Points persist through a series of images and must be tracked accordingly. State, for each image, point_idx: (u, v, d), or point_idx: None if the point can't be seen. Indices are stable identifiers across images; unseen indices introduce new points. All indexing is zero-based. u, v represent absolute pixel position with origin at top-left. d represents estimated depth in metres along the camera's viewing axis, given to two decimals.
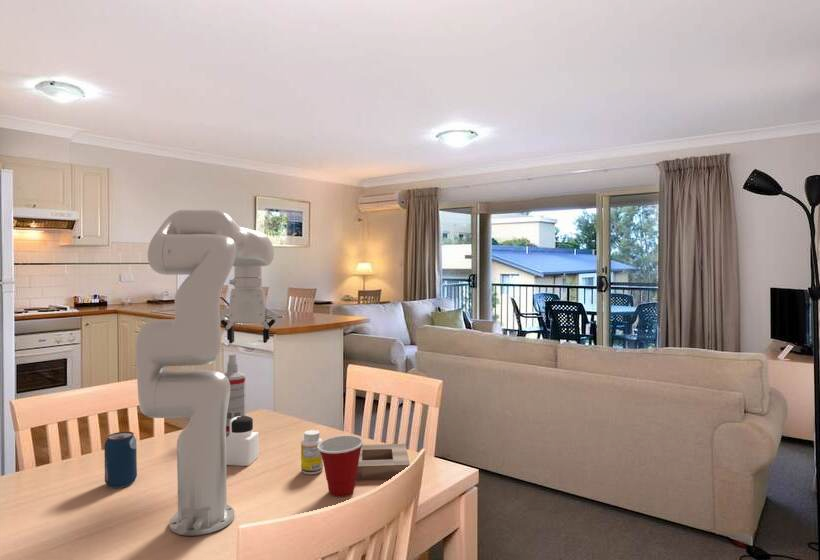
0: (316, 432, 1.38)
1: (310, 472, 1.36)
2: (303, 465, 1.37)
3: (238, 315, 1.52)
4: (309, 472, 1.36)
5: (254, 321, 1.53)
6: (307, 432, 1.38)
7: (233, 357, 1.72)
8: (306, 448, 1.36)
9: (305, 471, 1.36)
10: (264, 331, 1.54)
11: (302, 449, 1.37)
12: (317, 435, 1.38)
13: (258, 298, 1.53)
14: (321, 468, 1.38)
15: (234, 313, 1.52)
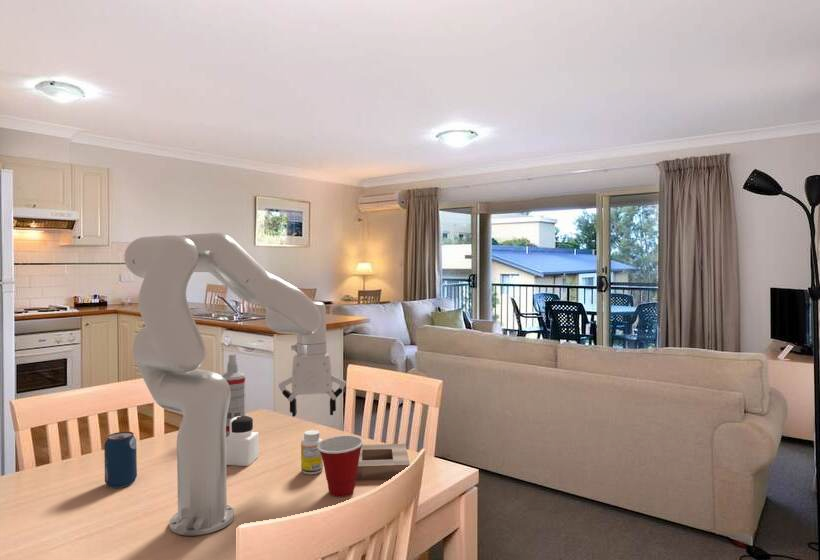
0: (316, 432, 1.38)
1: (310, 472, 1.36)
2: (303, 465, 1.37)
3: (302, 386, 1.36)
4: (309, 472, 1.36)
5: (320, 392, 1.36)
6: (307, 432, 1.38)
7: (233, 357, 1.72)
8: (306, 448, 1.36)
9: (305, 471, 1.36)
10: (331, 402, 1.38)
11: (302, 449, 1.37)
12: (317, 435, 1.38)
13: (325, 366, 1.36)
14: (321, 468, 1.38)
15: (298, 384, 1.36)
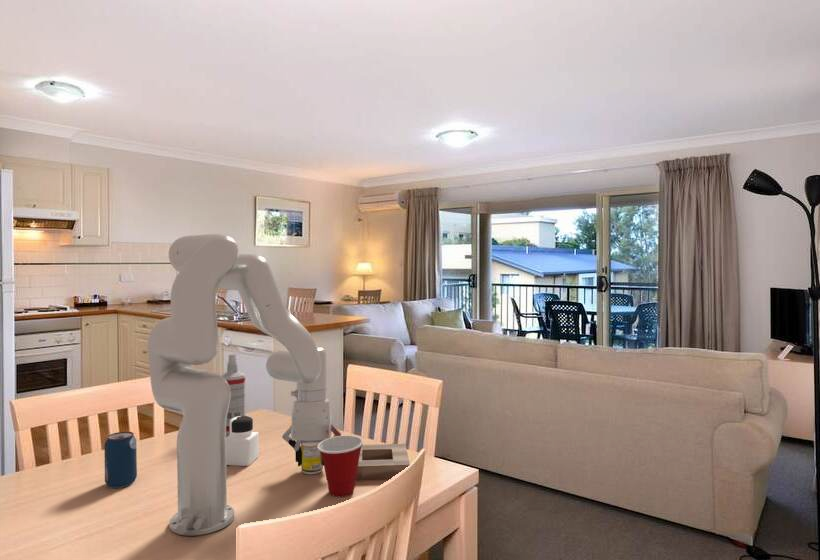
0: None
1: (310, 472, 1.36)
2: (303, 465, 1.37)
3: (302, 432, 1.36)
4: (309, 472, 1.36)
5: (319, 439, 1.36)
6: None
7: (233, 357, 1.72)
8: (306, 448, 1.36)
9: (305, 471, 1.36)
10: None
11: (302, 449, 1.37)
12: None
13: (324, 413, 1.36)
14: (321, 468, 1.38)
15: (297, 430, 1.36)
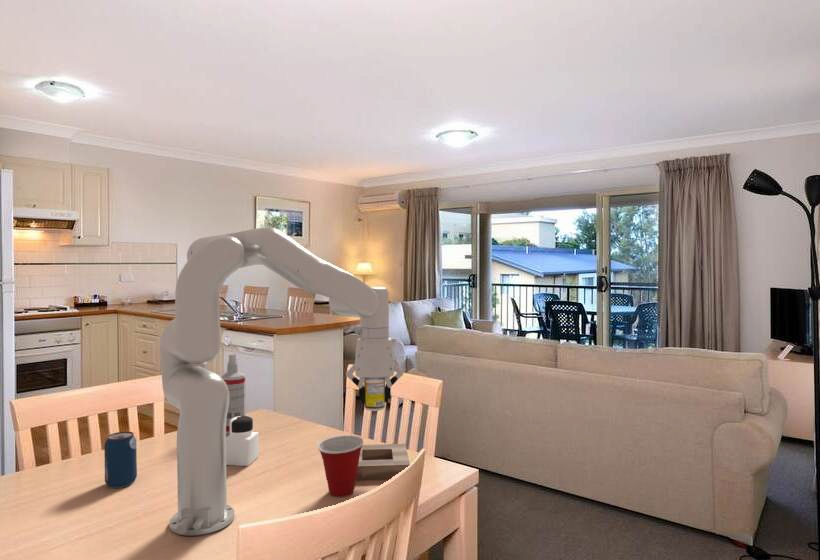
0: None
1: (374, 408, 1.38)
2: (367, 402, 1.39)
3: (366, 369, 1.38)
4: (373, 408, 1.38)
5: (383, 376, 1.38)
6: None
7: (233, 357, 1.72)
8: (370, 385, 1.38)
9: (369, 408, 1.38)
10: (386, 390, 1.39)
11: (365, 386, 1.39)
12: None
13: (388, 350, 1.38)
14: (384, 405, 1.40)
15: (362, 367, 1.37)
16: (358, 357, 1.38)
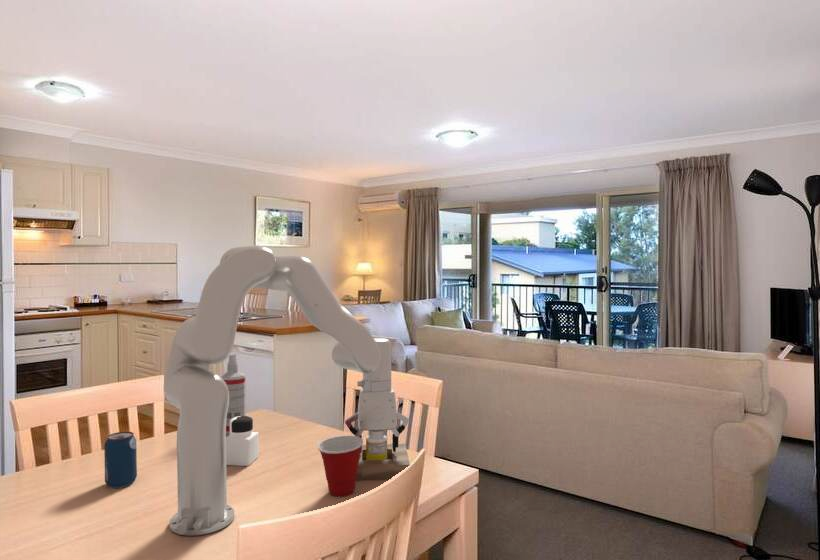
0: None
1: None
2: None
3: (369, 422, 1.38)
4: None
5: (386, 428, 1.38)
6: None
7: (233, 357, 1.72)
8: (372, 445, 1.38)
9: None
10: (394, 439, 1.40)
11: (367, 446, 1.39)
12: (382, 432, 1.40)
13: (390, 403, 1.39)
14: None
15: (364, 420, 1.38)
16: (361, 410, 1.38)
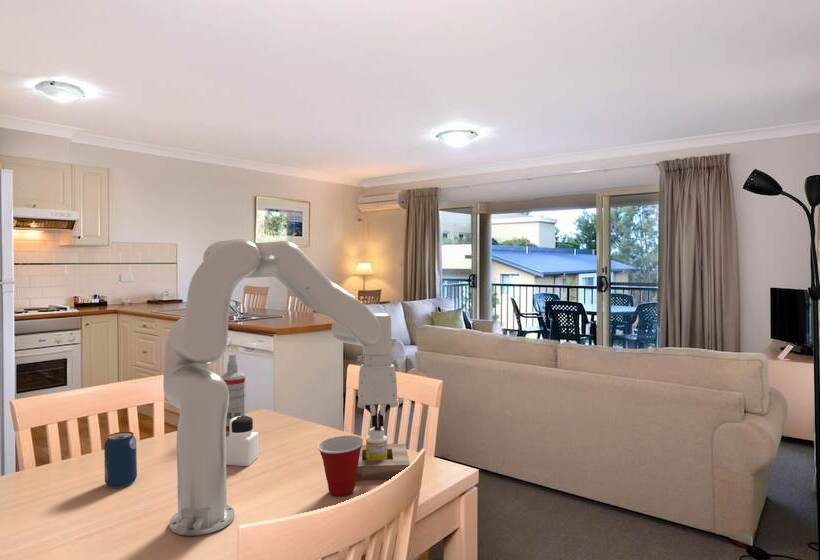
0: (381, 429, 1.41)
1: None
2: None
3: (369, 396, 1.38)
4: None
5: (386, 402, 1.38)
6: (373, 429, 1.41)
7: (233, 357, 1.72)
8: (372, 445, 1.38)
9: None
10: (379, 418, 1.40)
11: (367, 446, 1.39)
12: (382, 432, 1.40)
13: (391, 377, 1.38)
14: None
15: (365, 394, 1.38)
16: (361, 384, 1.38)
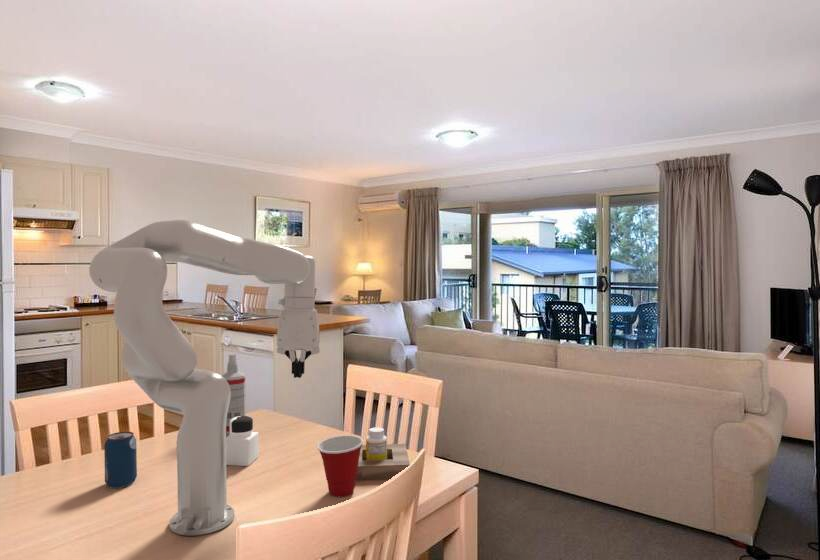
0: (381, 429, 1.41)
1: None
2: None
3: (288, 340, 1.32)
4: None
5: (306, 348, 1.32)
6: (372, 429, 1.40)
7: (233, 357, 1.72)
8: (372, 445, 1.38)
9: None
10: (299, 364, 1.33)
11: (367, 446, 1.39)
12: (382, 432, 1.40)
13: (311, 321, 1.32)
14: None
15: (283, 338, 1.32)
16: (280, 327, 1.32)
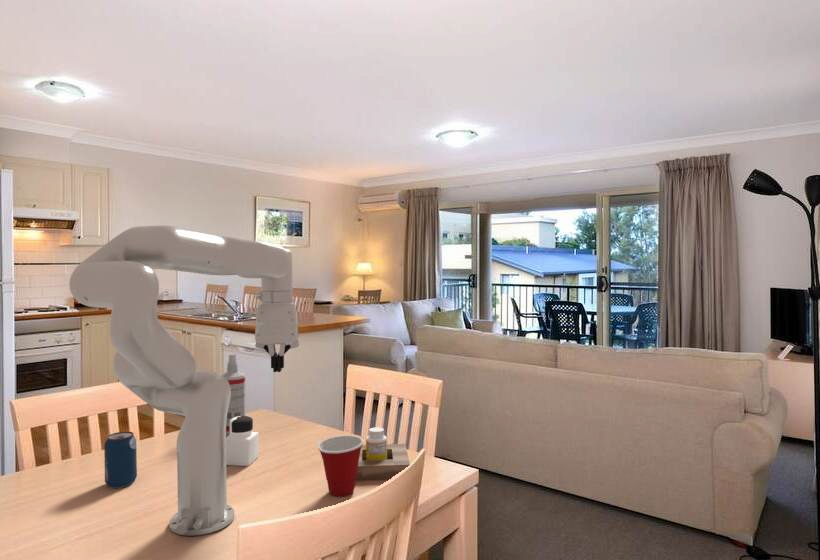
0: (381, 429, 1.41)
1: None
2: None
3: (266, 335, 1.30)
4: None
5: (285, 342, 1.31)
6: (372, 429, 1.41)
7: (233, 357, 1.72)
8: (372, 445, 1.38)
9: None
10: (278, 358, 1.32)
11: (367, 446, 1.39)
12: (382, 432, 1.40)
13: (289, 315, 1.31)
14: None
15: (261, 333, 1.30)
16: (257, 322, 1.30)
